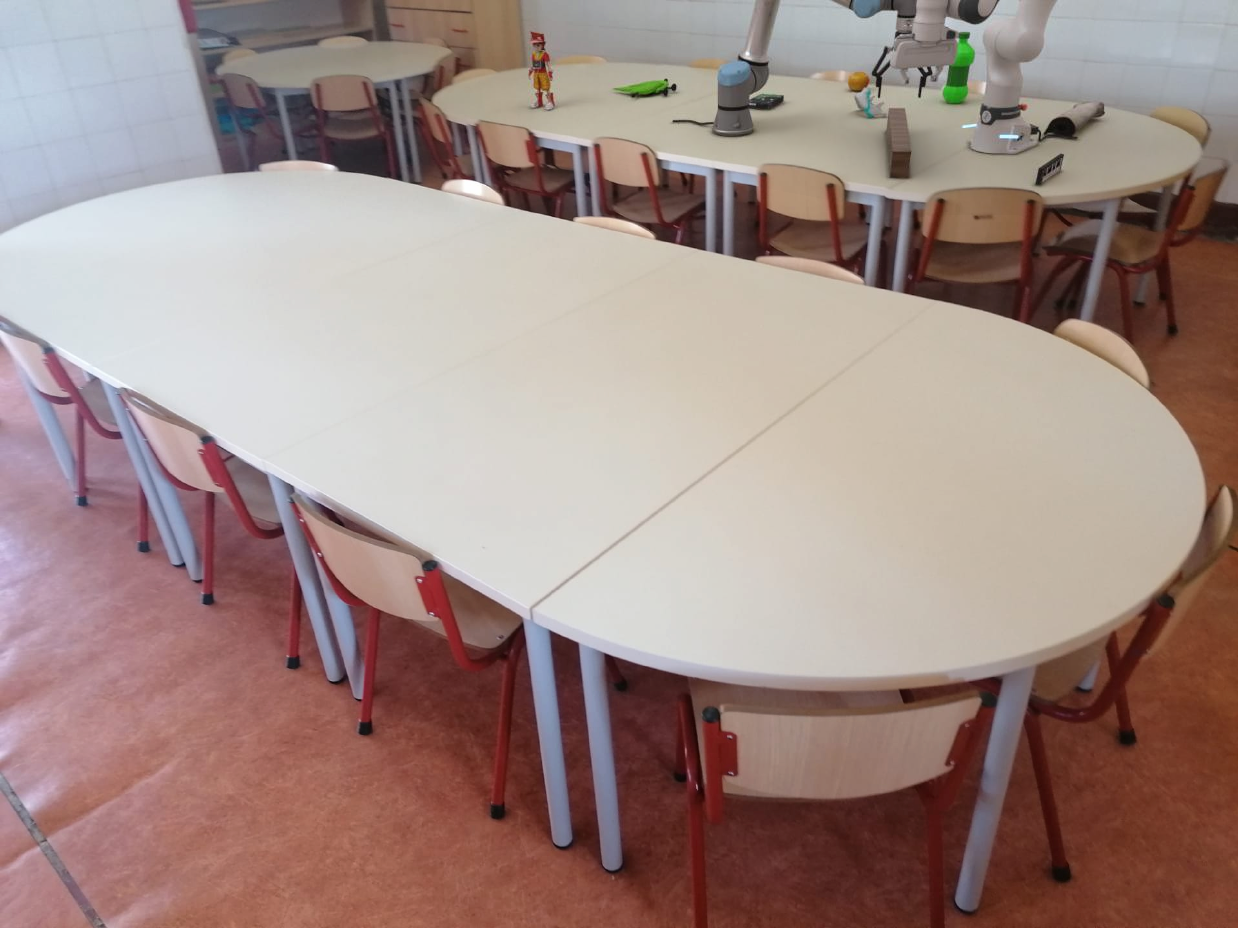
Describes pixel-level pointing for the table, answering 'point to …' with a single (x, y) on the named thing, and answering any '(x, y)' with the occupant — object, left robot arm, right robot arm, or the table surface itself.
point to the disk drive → (765, 101)
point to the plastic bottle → (959, 71)
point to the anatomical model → (868, 104)
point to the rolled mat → (1075, 118)
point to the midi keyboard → (1049, 169)
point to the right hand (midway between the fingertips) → (919, 82)
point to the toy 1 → (541, 71)
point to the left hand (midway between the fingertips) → (898, 97)
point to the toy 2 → (648, 88)
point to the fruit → (858, 81)
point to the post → (898, 143)
